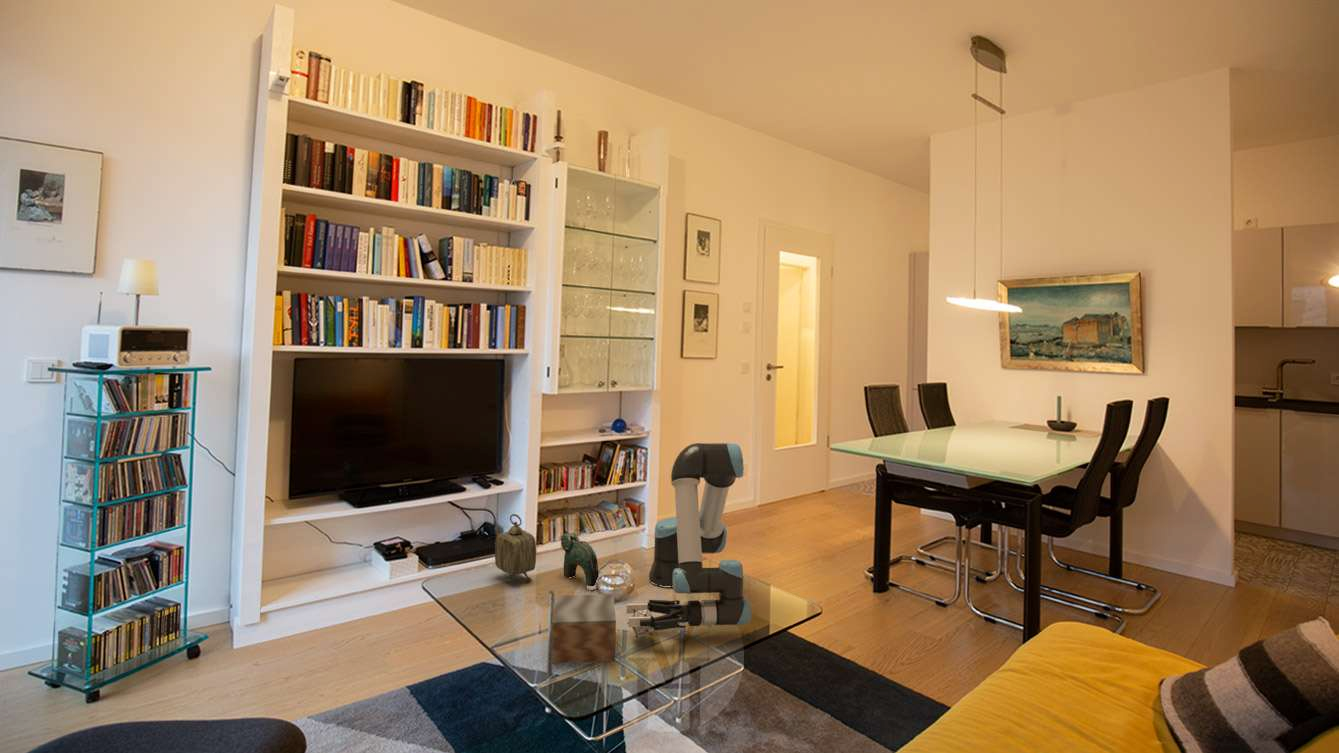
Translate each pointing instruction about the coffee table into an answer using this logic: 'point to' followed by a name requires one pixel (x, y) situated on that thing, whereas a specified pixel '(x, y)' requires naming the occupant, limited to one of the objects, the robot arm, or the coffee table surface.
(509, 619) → the coffee table surface
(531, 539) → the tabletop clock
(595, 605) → the walnut crate
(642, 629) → the geometric polyhedron ornament
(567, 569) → the green elephant figurine
